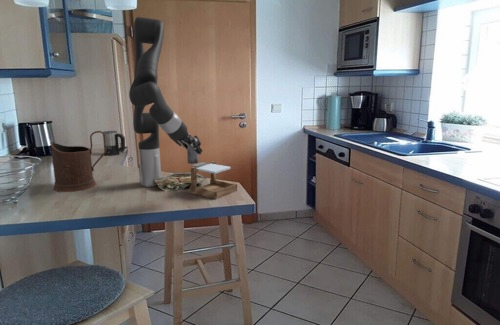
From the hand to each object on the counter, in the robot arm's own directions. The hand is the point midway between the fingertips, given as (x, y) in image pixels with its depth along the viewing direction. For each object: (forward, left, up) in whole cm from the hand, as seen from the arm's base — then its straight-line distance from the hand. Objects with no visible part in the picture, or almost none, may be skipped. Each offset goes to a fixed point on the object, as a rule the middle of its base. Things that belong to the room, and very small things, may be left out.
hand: (196, 151), depth 152 cm
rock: (-18, +8, -20) cm, 28 cm away
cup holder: (-57, -18, -20) cm, 63 cm away
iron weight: (0, -2, -4) cm, 5 cm away
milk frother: (-108, +36, -20) cm, 116 cm away
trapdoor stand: (-1, +10, -20) cm, 22 cm away
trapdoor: (-2, +10, -11) cm, 15 cm away
